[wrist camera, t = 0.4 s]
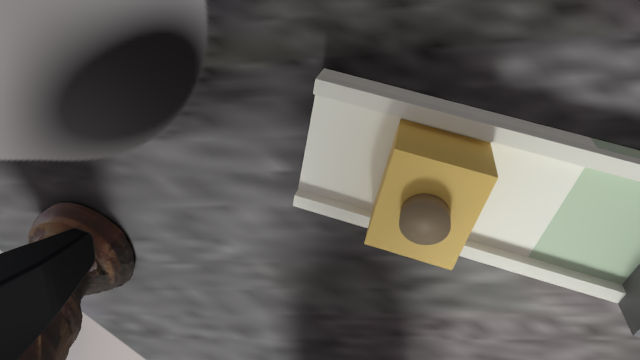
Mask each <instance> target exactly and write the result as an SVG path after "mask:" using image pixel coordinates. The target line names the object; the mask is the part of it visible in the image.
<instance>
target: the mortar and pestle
mask: <svg viewBox="0 0 640 360" xmlns="http://www.w3.org/2000/svg"><path fill="white" fill-rule="evenodd" d="M74 228H78V229H81V230H84V231H87V232H89V233H91V234H92V236H93V240H94V248H95V261H94V264H93V266H92V268H91V269H90V270H89V272H88V273H87V274H86V276H85V277H84V279H83V280H82V281H81V283H80V284H79V285H78V287H77V288H76V290H75V291H74V292H73V294H72V295H71V297H70V298H69V299H68V301H67V302H66V303H65V305H64V306H63V308H62V309H61V310H60V312H59V313H58V314H57V316H56V317H55V318H54V319H53V321H52V322H51V323H50V324H49V325H48V327H47V328H46V329H45V330H44V331H43V332H42V333H41V335H40V336H39V337H38V338H37V339H36V340H35V341H34V342H33V344H32V345H31V346H30V347H29V348H28V349H27V350H26V351H25V353H24V354H23V355H22V356H21V357H20V358H19V359H18V360H65V359H66V358H67V355H68V352H69V348H70V347H71V345H72V344H73V343H74V341H75V340H76V338H77V335H78V334H79V331H80V329H81V323H82V312H81V306H80V303H81V299H82V298H83V296H85V295H90V294H94V293H100V292H102V291H107V290H110V289H113V288H116V287H118V286H122V285H123V284H124V283H126V282H127V281H129V280H130V279H131V276H132V275H133V270H134V255H133V251H132V248H131V245H130V243H129V242H128V241H127V239H126V236H125V235H124V233H123V232H122V231H121V230H120V228H119V227H117V226H116V225H115V224H114V223H112V222H111V221H109V220H108V219H107V218H106V217H104V216H103V215H101V214H100V213H98V212H95V211H93V210H91V209H89V208H87V207H85V206H82V205H78V204H74V203H69V202H66V203H58V204H55V205H53V206H51V207H49V208H48V209H46V210H45V211H44V212H43V213H41V214H40V215H39V216H38V217H37V218H36V220H35V221H34V223H33V225H32V227H31V229H30V231H29V235H28V239H29V244H30V243H32V242H35V241H38V240H41V239H44V238H47V237H50V236H53V235H55V234H58V233H61V232H64V231H67V230H70V229H74Z"/></svg>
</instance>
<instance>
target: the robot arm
mask: <svg viewBox="0 0 640 360" xmlns="http://www.w3.org/2000/svg"><path fill="white" fill-rule="evenodd" d="M94 261H95V248H94V240H93V236H92V234H91V233H89V232H87V231H84V230H81V229H78V228H74V229H70V230H67V231H64V232H61V233H58V234H55V235H53V236H50V237H47V238H44V239H41V240H38V241H35V242H32V243H30V244H27V245H24V246H21V247H18V248H15V249H12V250H9V251H7V252H4V253H1V254H0V360H18V359H19V358H20V357H21V356H22V355H23V354H24V353H25V351H26V350H27V349H28V348H29V347H30V346H31V345H32V344H33V342H34V341H35V340H36V339H37V338H38V337H39V336H40V335H41V333H42V332H43V331H44V330H45V329H46V328H47V327H48V325H49V324H50V323H51V322H52V321H53V319H54V318H55V317H56V316H57V314H58V313H59V312H60V310H61V309H62V308H63V306H64V305H65V303H66V302H67V301H68V299H69V298H70V297H71V295H72V294H73V292H74V291H75V290H76V288H77V287H78V285H79V284H80V283H81V281H82V280H83V279H84V277H85V276H86V274H87V273H88V272H89V270H90V269H91V268H92V266H93V264H94Z"/></svg>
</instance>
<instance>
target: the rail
mask: <svg viewBox="0 0 640 360" xmlns="http://www.w3.org/2000/svg"><path fill="white" fill-rule="evenodd" d="M313 94H315V99H314V104H313V110H312V115H311V121H310V126H309V132H308V137H307V143H306V148H305V154H304V159H303V164H302V170H301V175H300V181H299V186H298V190H297V192H296V194H295V196H294V202H293V206H295V207H298V208H302V209H305V210H308V211H312V212H315V213H318V214H322V215H325V216H328V217H332V218H335V219H338V220H342V221H345V222H348V223H352V224H355V225H358V226H362V227H365V228H368V225H369V221H370V217H371V213H372V209H373V205H374V202H375V199H376V196H377V192H378V189H379V186H380V183H381V180H382V177H383V173H384V170H385V167H386V164H387V161H388V158H389V154H390V151H391V148H392V145H393V142H394V139H395V135H396V132H397V129H398V126H399V123H400V119H403V120H407V121H411V122H415V123H418V124H422V125H426V126H429V127H433V128H437V129H441V130H444V131H448V132H452V133H455V134H459V135H463V136H467V137H470V138H474V139H478V140H481V141H485V142H489V143H491V147H492V152H493V156H494V161H495V165H496V169H497V174H498V180H497V182H496V183H495V185H494V187H493V189H492V191H491V193H490V195H489V197H488V199H487V201H486V203H485V205H484V207H483V209H482V211H481V213H480V215H479V217H478V219H477V221H476V223H475V225H474V227H473V229H472V231H471V233H470V235H469V237H468V239H467V241H466V243H465V245H464V247H463V249H462V251H461V253H460V255H459V256H462V257H465V258H468V259H472V260H475V261H478V262H482V263H485V264H488V265H492V266H495V267H498V268H502V269H505V270H508V271H512V272H515V273H518V274H522V275H525V276H528V277H532V278H535V279H538V280H542V281H545V282H548V283H552V284H555V285H558V286H562V287H565V288H568V289H572V290H575V291H578V292H582V293H585V294H588V295H592V296H595V297H598V298H602V299H605V300H608V301H612V302H615V303H618V304H619V307H620V309H621V311H622V313H623V315H624V317H625V319H626V322H627V324H628V326H629V328H630V330H631V332H632V334H633V336H635V337H639V338H640V150H636V149H632V148H628V147H625V146H621V145H617V144H613V143H609V142H605V141H602V140H598V139H594V138H590V137H586V136H582V135H579V134H575V133H571V132H567V131H563V130H559V129H556V128H552V127H548V126H544V125H540V124H536V123H533V122H529V121H525V120H521V119H517V118H513V117H510V116H506V115H502V114H498V113H494V112H490V111H487V110H483V109H479V108H475V107H471V106H467V105H464V104H460V103H456V102H452V101H448V100H444V99H441V98H437V97H433V96H429V95H425V94H421V93H418V92H414V91H410V90H406V89H402V88H398V87H395V86H391V85H387V84H383V83H379V82H375V81H372V80H368V79H364V78H360V77H356V76H352V75H349V74H345V73H341V72H337V71H333V70H329V69H326V68H324V69H323V70H322V71H321V73H320V74H319V75H318V76H317V78H316V79H315V84H314V90H313Z"/></svg>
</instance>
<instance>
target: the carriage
mask: <svg viewBox="0 0 640 360" xmlns="http://www.w3.org/2000/svg"><path fill="white" fill-rule="evenodd" d="M497 180H498V174H497V169H496V165H495V161H494V156H493V152H492V147H491V143H489V142H485V141H481V140H478V139H474V138H470V137H467V136H463V135H459V134H455V133H452V132H448V131H444V130H441V129H437V128H433V127H429V126H426V125H422V124H418V123H415V122H411V121H407V120H403V119H400V123H399V126H398V129H397V132H396V135H395V139H394V142H393V145H392V148H391V151H390V154H389V158H388V161H387V164H386V167H385V170H384V173H383V177H382V180H381V183H380V186H379V189H378V192H377V196H376V199H375V202H374V205H373V209H372V213H371V217H370V221H369V225H368V230H367V234H366V238H365V242H364V244H367V245H370V246H373V247H376V248H380V249H383V250H386V251H389V252H393V253H396V254H399V255H403V256H406V257H409V258H412V259H416V260H419V261H422V262H426V263H429V264H432V265H435V266H439V267H442V268H445V269H449V270H452V269H453V267H454V265H455V263H456V261H457V259H458V257H459V255H460V253H461V251H462V249H463V247H464V245H465V243H466V241H467V239H468V237H469V235H470V233H471V231H472V229H473V227H474V225H475V223H476V221H477V219H478V217H479V215H480V213H481V211H482V209H483V207H484V205H485V203H486V201H487V199H488V197H489V195H490V193H491V191H492V189H493V187H494V185H495V183H496V182H497Z"/></svg>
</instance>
